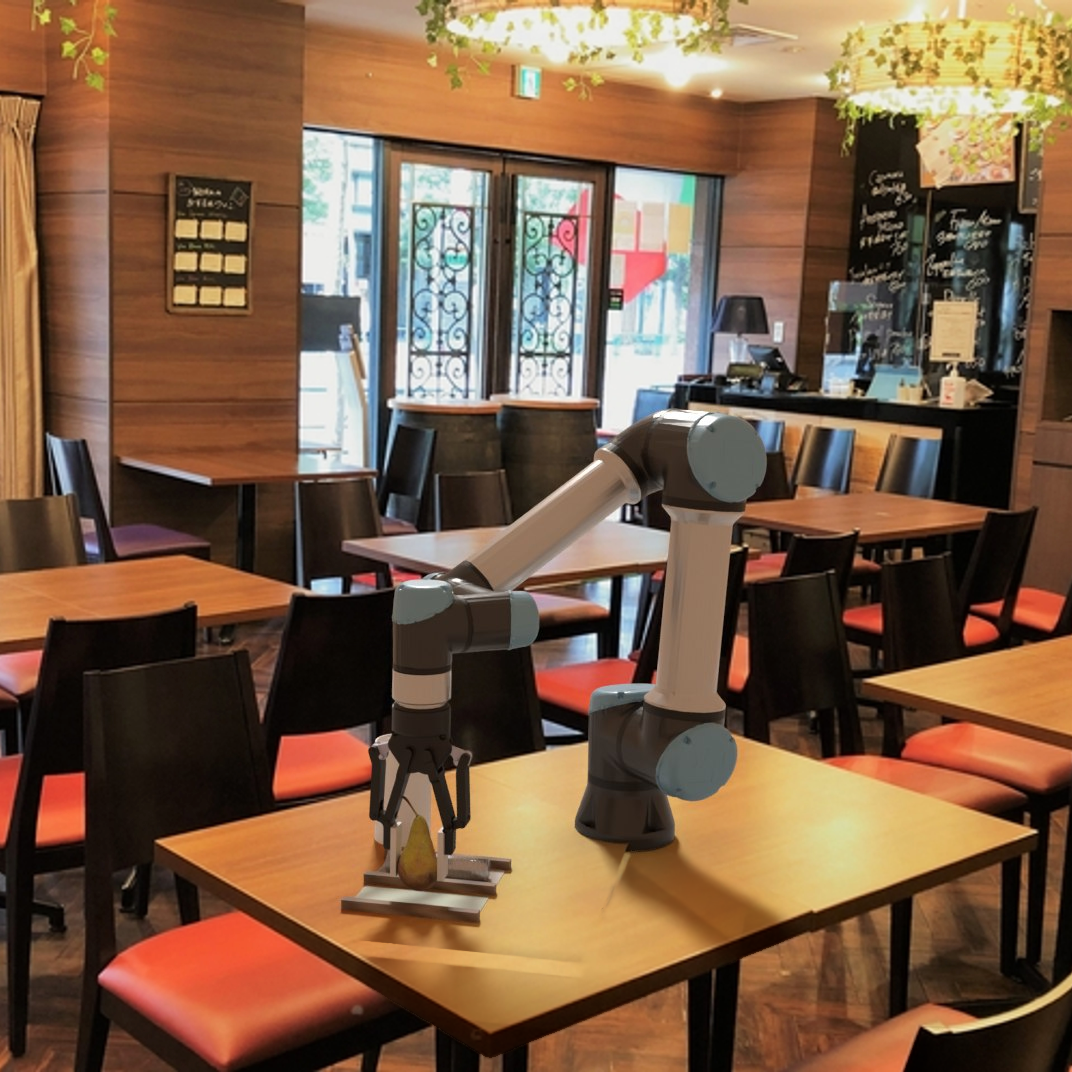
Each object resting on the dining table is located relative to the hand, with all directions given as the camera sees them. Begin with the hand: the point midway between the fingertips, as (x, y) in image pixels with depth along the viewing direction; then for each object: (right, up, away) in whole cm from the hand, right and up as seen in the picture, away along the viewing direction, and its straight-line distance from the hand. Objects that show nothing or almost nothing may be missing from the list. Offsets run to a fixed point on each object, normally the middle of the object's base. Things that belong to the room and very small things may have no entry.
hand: (419, 874), depth 195 cm
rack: (+1, -4, +6) cm, 7 cm away
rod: (+2, -2, +10) cm, 11 cm away
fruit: (0, -2, 0) cm, 2 cm away
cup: (-4, -2, +25) cm, 25 cm away
